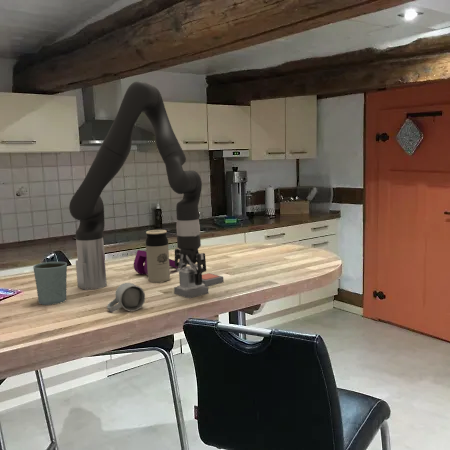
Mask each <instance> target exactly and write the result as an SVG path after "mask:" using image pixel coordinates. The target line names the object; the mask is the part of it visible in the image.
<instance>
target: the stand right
mask: <svg viewBox="0 0 450 450" xmlns="http://www.w3.org/2000/svg"><path fill="white" fill-rule="evenodd" d="M222 282H223V283H224V276H223V275H219V274H215V273H211V272H208V273H204V274H203V273H202V283H203V284H205V286H206V287H209V286H210V287H211V286H215V285H217V284H222Z"/></svg>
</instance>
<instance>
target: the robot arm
mask: <svg viewBox="0 0 450 450" xmlns="http://www.w3.org/2000/svg"><path fill="white" fill-rule="evenodd" d="M142 113H144V114H145V116H146V117H147V119H148V120H149V122H150V123H151V126H152V128H153V131H154V138H155V144H156V148H157V150H158V153H159V154H160V156H161V159H162V161H163V163H164V166H165V169H166V175H167V181H168V184H169V186H170V188H171V190H172V191H173V192H175V194H179V195H182V199H181V200H180V201H178V202H177V203H176V206H175V207H176V210H175V213H176V225H175V226H176V244H177V245H176V246H177V248H175V249H174V261H175V266H177V267H178V268H181V267H186V266H191V268H193V270H194V272H195V285H201V284H202V275H203V273H205V272H207V262H206V260H207V259H206V253H205V252H201V253H200V252H199V249H200V248H201V247H202V244H201V243H202V241H201V226H200V220H199V218H200V216H199V203H200V199H201V194H202V187H203V185H202V184H203V182H202V181H203V180H202V178H201V176H200V174H199V173H198V172H197V171H196V170H184V169H183V165H184V164H185V163H186V161H187V157H186V154H185V152H184V150H183V149H182V146H181V144H180V142H179V140H178V138H177V136H176V133H175V132H174V129H173V127H172V125H171V121H170V119H169V116H168V112H167V110H166V107H165V103H164V99H163V97H162V94H161V92H160V90H159V89H158V88H157V87H156V86H154V85H152V84H149V83H148V82H145V81H143V80H136V81H133V82H132V83H131V84H130V85H129V86H128V88H127V89H126V91H125V94H124V95H123V99H122V101H121V103H120V106H119V108H118V110H117V113H116V116H115V118H114V119H113V122H112V124H111V126H110V127H109V130H108V132H107V135H106V136H105V137H104V139H103V141H102V143H101V146H100V147H99V149H98V151H97V152H96V153H97V154H96V155H95V157H94V160H93V161H92V163H91V165H90V167H89V169H88V172H87V173H86V175H85V177H84V179H83V180H82V182H81V184H80V186H79V187H78V189H77V190H76V192H75V193H74V194H73V196H72V197H71V199H70V201H69V206H68V207H69V208H68V210H69V213H70V215H71V217H72V218H73V219H74V220H76V221H79V226H78V228H77V229H76V230H75V243H76V255H77V259H76V260H75V271H76V281H77V288H79V289H81V290H84V291H85V290H86V291H88V290H96V289H101V288H104V287H106V286H107V285H108V284H107V283H108V282H107V280H108V279H107V269H106V258H105V257H106V256H105V245H104V244H105V243H104V231H105V226H106V225H105V205H104V201H103V199H102V197H101V195H102V193H103V191H104V189H105V188H106V186H107V185H108V184H109V183H110V182H111V181H112V180H113V179H114V177H116V176H117V174H118V173H119V172H120V170H121V169H122V167H123V166H124V164H125V163H126V161H127V159H128V157H129V154H130V153H131V149H132V145H133V144H132V142H133V132H134V127H135V125H136V123H137V121H138V119H139V117H140V115H141V114H142ZM201 266H203V268H202V267H201ZM196 267H198V270H197V268H196Z"/></svg>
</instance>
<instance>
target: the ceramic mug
mask: <svg viewBox="0 0 450 450" xmlns="http://www.w3.org/2000/svg"><path fill="white" fill-rule="evenodd" d="M114 295H115V298H114V299H113V300H111V301H110V302H108V304H107V305H106V309H107V310H108V312H109V313H111V312H112V313H113V312H115V311H118V310H120V309H121V308H122V309H124V310H125V311H127V312H135V311H138V310H139V309H141V308H142V307H143V306H144V303H145V301H146V294H145V291H144V289H143V288H142V287H141V286H139V285H136V284H135V283H132V282H124V283H121V284H119V286H117V288H116V290H115V293H114Z"/></svg>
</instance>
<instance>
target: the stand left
mask: <svg viewBox="0 0 450 450" xmlns="http://www.w3.org/2000/svg"><path fill="white" fill-rule="evenodd" d="M173 291H174V293H173V294H175V295H178V296H181V297H183V298H187V299H191V298H195V297H199V296H203V295H207V294H209V293H210V291H209V286H205V287H201V288H197V289H193V290H189V291H184V290H181V289H178V288H177V286H175V287H174V288H173Z"/></svg>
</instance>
